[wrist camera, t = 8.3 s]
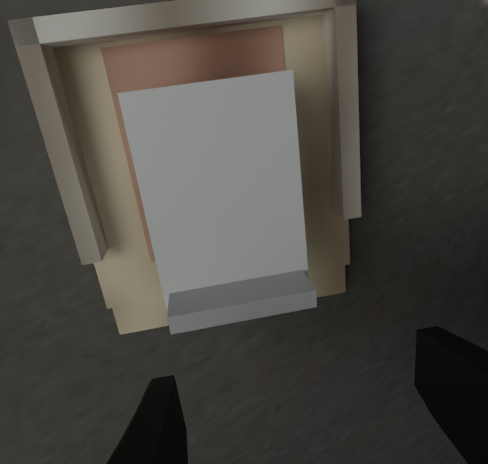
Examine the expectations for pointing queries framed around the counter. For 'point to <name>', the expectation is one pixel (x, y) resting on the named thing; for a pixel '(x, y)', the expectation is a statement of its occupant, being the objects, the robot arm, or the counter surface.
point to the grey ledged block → (222, 197)
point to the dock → (177, 73)
